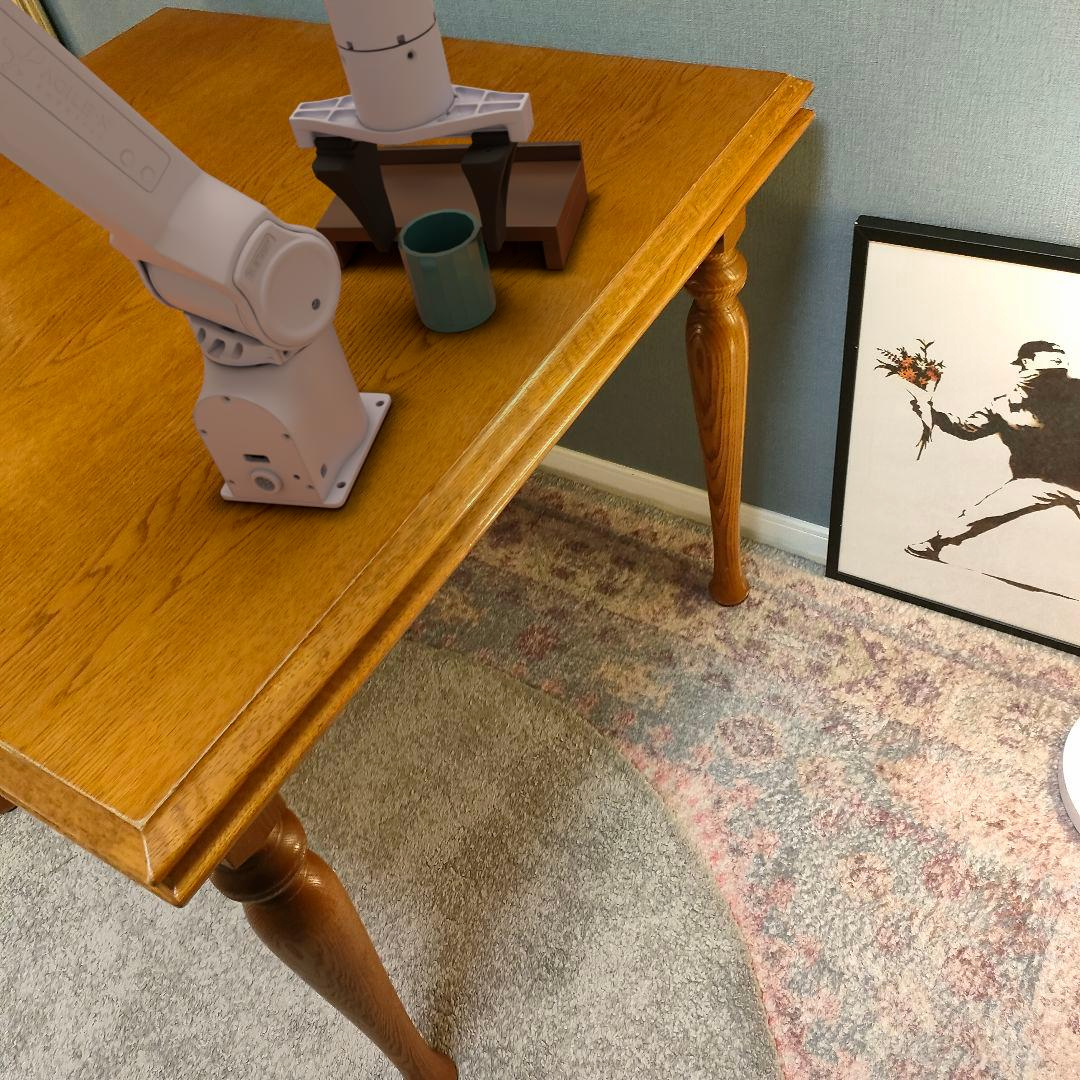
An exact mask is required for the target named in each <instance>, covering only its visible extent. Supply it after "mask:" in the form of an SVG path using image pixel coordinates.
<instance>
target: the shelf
mask: <svg viewBox="0 0 1080 1080" xmlns="http://www.w3.org/2000/svg"><path fill="white" fill-rule="evenodd" d="M471 144H472V143H456V144H455V143H454V144H450V143H449V144H419V145H416V144H415V145H381V146H380V145H379V146H378V145H377V148H378V155H379V162H380V167H381V173H382V178H383V183H384V186H385V190H386V193H387V196H388V200H389V203H390V206H391V209H392V213H393V216H394V220H395V225H396V232H397V235H396V237H395V238H394V240H393V242H398V240H397V237H398V235H399V233H400V231H401V229H402V228H403V227H404V226H405V225H406V224H408V223H409V222H410V221H411V220H413V219H414V218H417V217H419V216H421V215H423V214H425V213H428V212H432V211H437V210H441V209H442V210H443V209H460V210H463V211H467V212H470V213H472V214H473V215H474V216H475V217H477V218H478V219H479V224H480V228H481V232H482V237H483V241H484V242H485V239H484V234H483V229H482V223H481V218H480V213H479V209H478V206H477V203H476V200H475V197H474V195H473V192H472V189H471V187H470V185H469V182H468V180H467V178H466V176H465V174H464V172H463V171H462V168H461V161H462V159H463V157H464V155H465V153H466V151H467V149H468V147H469V146H471ZM586 179H587V178H586V172H585V163H584V156H583V146H582V141H581V140H561V141H560V140H559V141H555V140H554V141H531V142H530V141H526V142H518V145H517V148H516V152H515V156H514V160H513V164H512V169H511V174H510V180H509V186H508V194H507V206H506V231H507V235H506V237H505V240H504V242H542V249H543V255H544V260H545V266H546V270H553V271H556V270H559V271H561V270H564V269H565V266H566V262H567V260H568V257H569V254H570V251H571V249H572V245H573V243H574V240H575V237H576V234H577V232H578V229H579V225H580V223H581V220H582V218H583V215H584V212H585V209H586V206H587V203H588V200H589V195H588V187H587V181H586ZM315 230H316V231H318V232H319V233H321V234H322V235H323V236H324V237H325V238H326V239H327V240H328V241H329V242H330V243H331V245H332V246H333V248H334V250H335V252H336V254H337V257H338V260H339V263H340V269H345V268H346V266H347V264H348V262H349V261H350V260H351V257H352V256H353V254H354V252H355V250H356V249H357V247H358V245H359V244H360V242H372V240H371V238H370V237H369V235H368V234H367V232H366V231H365V229H364V228H363V226H362V225H361V223H360V222H359V221H358V219H357V218H356V216H355V215H354V214H353V213H352V211H351V210H350V209H349V208H348V206H347V205H346V204H345V203H344V202H343V201H342V200H341V199H340V198H339V197H338V196H337V195H336V194H335V196H334V197H333V198H332V200H331V202H330V204H329V205H328V207H327V208H326V209H325V211H324V213H323V214H322V216H321V218H320V219H319V220H318V223H317V224H316V225H315Z"/></svg>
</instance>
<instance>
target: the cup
mask: <svg viewBox="0 0 1080 1080" xmlns="http://www.w3.org/2000/svg"><path fill="white" fill-rule="evenodd" d="M397 240H398V241H397V247H398V251H399V253H400V257H401V260H402V263H403V267H404V270H405V274H406V277H407V280H408V283H409V287H410V290H411V294H412V297H413V300H414V304H415V307H416V310H417V311H416V312H417V314H418V315H419V319H420V321H421V323H422V324H423V325H424V326H425V327H426V328H428V329H429V330H432V331H434V332H437V333H444V334H453V333H460V332H464V331H469V330H471V329H474V328H475V327H478V326H479V325H481V324H483V323H485V322H486V321H487V320H488V319H489V318H490V317H491V316H492V315H493V314H494V312H495V310H496V307H497V296H496V291H495V286H494V282H493V278H492V274H491V269H490V264H489V260H488V255H487V251H486V245H485V241H483V237H482V232H481V228H480V224H479V219H478V218H477V217H475V216H474V215H473V214H472V213H470V212H467V211H463V210H460V209H443V210H442V209H441V210H437V211H432V212H428V213H425V214H423V215H421V216H419V217H417V218H414V219H413V220H411V221H410V222H409V223H408V224H406V225H405V226H404V227H403V228H402V229H401V231H400V233H399V235H398V237H397Z"/></svg>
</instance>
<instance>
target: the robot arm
mask: <svg viewBox="0 0 1080 1080" xmlns="http://www.w3.org/2000/svg"><path fill="white" fill-rule="evenodd" d="M322 1H323V5H324V8H325V11H326V14H327V17H328V21H329V24H330V27H331V31H332V34H333V37H334V41H335V44H336V48H337V51H338V55H339V57H340V61H341V65H342V68H343V71H344V75H345V79H346V82H347V84H348V88H349V91H350V94H347V95H342V96H339V97H332V98H327V99H323V100H316V101H306V102H305V101H304V102H300V103H299V104H298V105H297V106H296V108H295V110H294V111H293V112H292V113H291V114H290V116H289V118H288V121H289V124H290V127H291V130H292V133H293V136H294V138H295V141H296V145H297V146H298V149H314V148H315V149H316V150H315V155H316V157H315V158H314V160H313V162H312V163H311V169H312V172H313V174H314V176H315V178H316V180H318V181H319V182H320V183H322V184H323V185H325V186H326V187H327V188H328V189H329V190H331V192H333V194H335V196H336V195H337V196H338V197H339V198H340V199H341V200H342V201H343V202H344V203H345V204H346V205H347V206H348V208H349V209H350V210H351V211H352V213H353V214H354V215H355V216H356V218H357V219H358V221H359V222H360V223H361V225H362V226H363V228H364V229H365V231H366V232H367V234H368V235H369V237H370V238H371V240H372V241H371V242H372V243H373V245H374V246H375V248H376V250H377V251H378V252H379V253H381V252H382V253H385V252H387V253H388V252H389V250H390V247H391V246H392V244H393V242H394V241H393V240H394V238H395V237H396V235H397V232H396V225H395V220H394V216H393V213H392V209H391V206H390V203H389V200H388V196H387V193H386V190H385V186H384V183H383V178H382V173H381V167H380V162H379V155H378V148H377V147H378V145H381V146H403V145H409V144H413V143H418V142H423V141H427V140H435V139H464V138H466V139H468V138H470V139H471V143H470V144H471V146H469V147H468V149H467V151H466V153H465V155H464V157H463V159H462V161H461V168H462V171H463V172H464V174H465V176H466V178H467V180H468V182H469V185H470V187H471V189H472V192H473V195H474V197H475V200H476V203H477V206H478V209H479V213H480V218H481V223H482V229H483V234H484V239H485V241H484V243H485V246H486V248H487V250H488V252H491V253H492V252H493V253H494V252H500V251H501V249H502V247H503V244H504V242H505V241H504V240H505V237H506V235H507V231H506V206H507V194H508V186H509V180H510V174H511V169H512V164H513V160H514V156H515V152H516V148H517V145H518V143H520V142H528V139H529V137H530V136H531V133H532V131H533V128H534V126H535V120H534V113H533V107H532V101H531V96H530V95H531V94H530V93H529V92H505V91H497V90H492V89H485V88H479V87H473V86H467V85H460V84H453V83H452V80H451V76H450V72H449V67H448V62H447V58H446V54H445V49H444V45H443V41H442V35H441V31H440V27H439V21H438V19H437V14H436V9H435V5H434V0H322ZM0 154H1V155H3V156H4V157H5V158H7V159H8V160H9V161H10V162H12V163H14V164H15V165H16V166H17V167H19V168H21V169H22V170H23V171H25V173H27V174H28V175H30V176H31V177H33V178H34V179H35V180H37V181H38V182H40V183H41V184H43V185H44V186H45V187H46V188H48V189H49V190H50V191H52V192H53V193H55V194H56V195H58V196H59V197H60V198H61V199H63V200H65V201H66V202H67V203H68V204H70V205H72V206H73V207H74V208H76V209H77V210H78V211H80V212H81V213H83V214H84V215H85V216H86V217H88V218H89V219H91V220H92V221H93V222H95V223H96V224H97V225H98V226H100V227H102V228H103V229H104V230H106V231H107V232H108V233H109V245H110V247H112V248H113V249H114V250H116V251H117V252H119V253H120V254H121V255H123V256H124V257H125V258H127V260H128V261H129V262H130V263H131V264H132V265H133V267H134V268H135V269H136V271H137V273H138V276H139V277H140V279H141V281H142V283H143V286H144V287H145V289H146V290H147V291H148V293H149V294H150V295H151V296H152V297H153V298H154V299H155V300H156V301H158V303H160V304H162V305H163V306H166V307H168V308H170V309H173V310H177V311H180V312H182V314H183V316H184V317H185V319H186V321H187V323H188V325H189V328H190V329H191V331H193V334H194V337H195V340H196V342H197V344H198V346H199V348H200V350H201V352H202V358H203V365H204V366H203V381H202V385H201V389H200V392H199V395H198V397H197V399H196V402H195V404H194V407H193V411H192V419H193V424H194V427H195V430H196V432H197V433H198V435H199V437H200V439H201V441H202V443H203V444H204V446H205V448H206V450H207V451H208V453H209V455H210V457H211V458H212V460H213V462H214V464H215V465H216V468H217V469H218V471H219V473H220V475H221V476H222V478H223V480H224V484H223V486H222V487H221V489H220V492H219V493H220V496H221V497H222V499H223V500H226V501H235V502H248V503H249V502H250V503H262V504H273V505H290V506H291V505H292V506H300V507H301V506H303V507H314V508H315V507H316V508H329V509H337V508H340V507H342V506H343V505H344V504H345V503H346V500H347V499H348V496H349V494H350V492H351V490H352V488H353V486H354V484H355V481H356V480H357V477H358V475H359V473H360V471H361V469H362V467H363V464H364V463H365V461H366V458H367V456H368V453H369V452H370V449H371V448H372V445H373V443H374V441H375V438H376V437H377V435H378V432H379V430H380V428H381V426H382V425H383V424H382V423H383V421H384V419H385V417H386V415H387V413H388V411H389V409H390V407H391V404H392V398H391V395H390V394H388V393H384V392H383V393H381V392H380V393H379V392H359V389H358V386H357V384H356V381H355V378H354V376H353V373H352V371H351V367H350V366H349V363H348V360H347V357H346V354H345V352H344V350H343V349H344V348H343V347H342V344H341V342H340V339H339V336H338V333H337V331H336V328H335V326H334V323H333V322H334V321H335V320H336V318H337V317H336V311H337V308H338V305H339V302H340V296H341V292H342V270H341V269H342V268H340V263H339V260H338V257H337V254H336V252H335V250H334V248H333V246H332V245H331V243H330V242H329V241H328V240H327V239H326V238H325V237H324V236H323V235H322V234H321V233H319V232H318V231H316V228H312V227H309V226H305V225H299V224H294V223H287V222H285V221H284V220H282V219H280V218H279V217H277V216H276V215H275V214H274V213H273V212H272V211H271V210H269V208H268V207H266V206H265V205H263V204H262V203H260V202H258V201H257V200H255V199H253V198H251V197H249V196H248V195H246V194H244V193H243V192H241V191H240V190H237V189H236V188H234V187H232V186H230V185H228V184H227V183H225V182H223V181H221V180H220V179H218V178H216V177H214V176H212V175H211V174H209V173H207V172H206V171H204V170H203V169H202V168H200V167H199V166H198V165H197V164H196V163H195V162H193V160H192V159H190V157H188V156H187V155H186V154H185V153H184V152H183V151H182V150H180V148H178V147H177V146H176V145H174V143H173V142H171V141H170V140H169V139H168V138H167V137H165V135H164V134H162V133H161V132H160V131H159V130H158V129H157V128H156V127H154V126H153V125H152V124H151V123H150V122H149V121H148V120H147V119H145V118H144V116H142V115H141V114H140V113H139V112H138V111H136V109H134V108H133V107H132V106H131V105H130V104H128V103H127V101H125V100H124V99H123V98H122V97H121V96H120V95H119V94H117V93H116V91H114V90H113V89H112V88H111V87H110V86H108V85H107V84H106V83H105V82H104V81H103V80H101V78H99V77H98V76H97V75H96V74H95V73H94V72H93V71H92V70H91V69H89V68H88V66H87V65H85V64H84V63H83V62H81V60H79V59H78V58H77V57H76V56H75V55H73V54H72V53H71V52H70V51H69V50H68V49H67V48H66V47H65V46H63V44H61V42H59V41H58V40H57V39H56V38H54V37H53V36H52V35H51V34H50V33H49V32H48V31H47V30H46V29H44V28H43V27H42V26H41V25H40V24H39V23H38V22H37V21H35V20H34V19H33V17H31V16H30V15H29V14H28V13H27V12H25V11H24V10H23V8H21V7H20V6H19V5H17V4H16V2H15V1H13V0H0Z"/></svg>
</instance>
